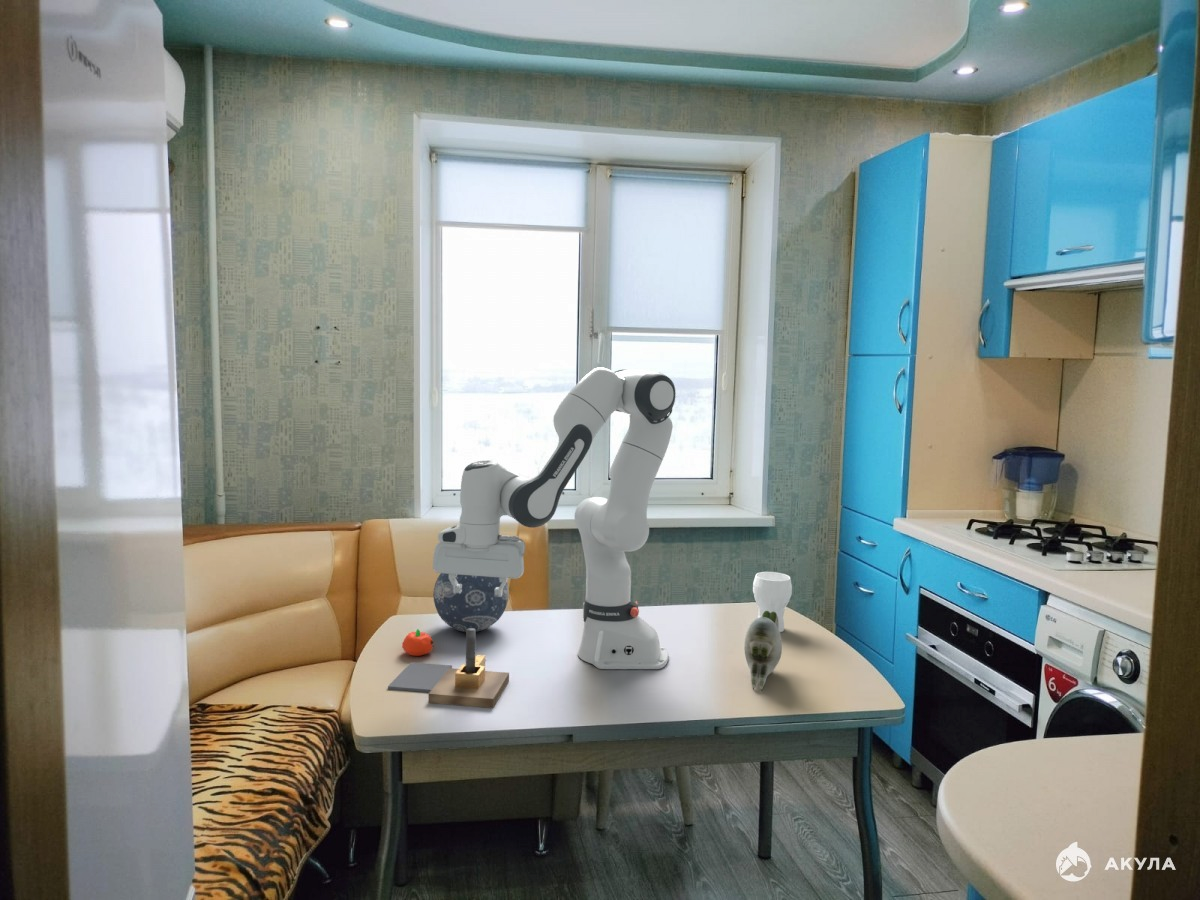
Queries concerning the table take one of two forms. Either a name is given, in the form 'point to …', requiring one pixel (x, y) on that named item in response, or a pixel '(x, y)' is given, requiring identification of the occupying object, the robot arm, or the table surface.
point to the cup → (772, 594)
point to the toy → (763, 647)
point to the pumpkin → (417, 643)
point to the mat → (419, 677)
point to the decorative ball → (470, 601)
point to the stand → (469, 696)
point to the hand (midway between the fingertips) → (477, 594)
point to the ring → (471, 674)
